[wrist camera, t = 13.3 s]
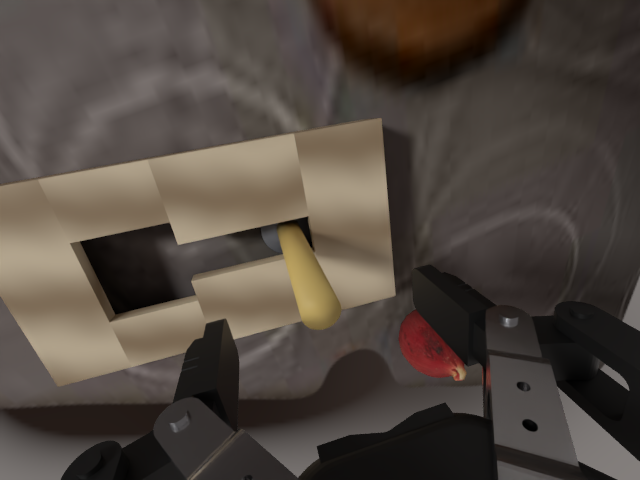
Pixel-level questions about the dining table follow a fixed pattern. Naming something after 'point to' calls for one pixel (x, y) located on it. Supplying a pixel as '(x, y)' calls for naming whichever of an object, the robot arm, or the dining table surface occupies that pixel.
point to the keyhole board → (188, 226)
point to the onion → (428, 349)
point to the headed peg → (304, 272)
